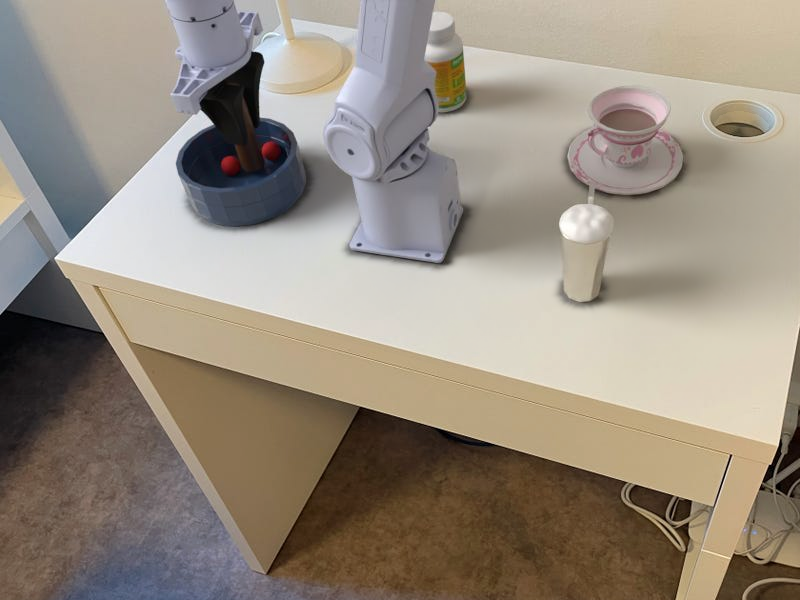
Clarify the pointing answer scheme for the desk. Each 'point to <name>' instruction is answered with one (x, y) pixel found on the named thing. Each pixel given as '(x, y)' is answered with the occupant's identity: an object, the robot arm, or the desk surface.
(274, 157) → the berry
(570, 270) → the milkshake
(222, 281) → the desk surface
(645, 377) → the desk surface
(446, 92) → the supplement bottle
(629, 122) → the teacup
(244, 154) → the stirring stick
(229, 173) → the berry
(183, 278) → the desk surface
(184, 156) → the bowl
